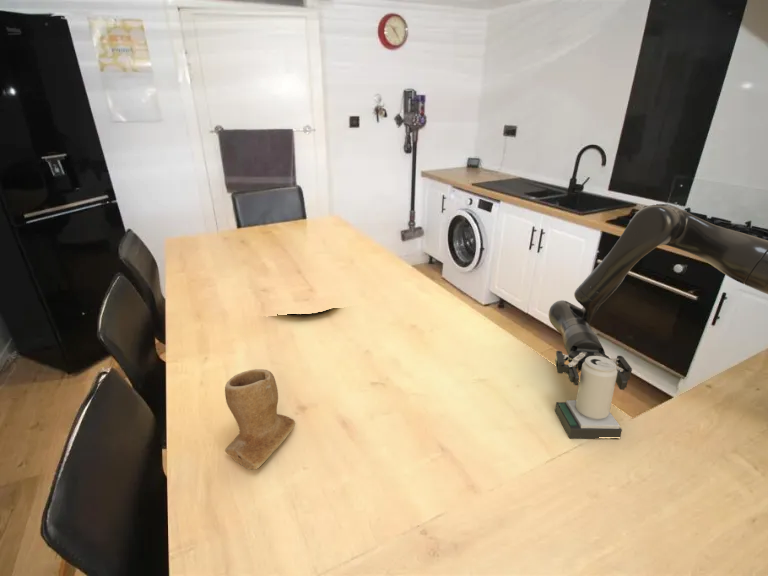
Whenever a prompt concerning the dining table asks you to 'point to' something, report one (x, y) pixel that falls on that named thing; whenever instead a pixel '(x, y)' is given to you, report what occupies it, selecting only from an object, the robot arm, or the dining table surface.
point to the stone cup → (255, 417)
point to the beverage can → (596, 387)
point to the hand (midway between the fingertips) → (599, 383)
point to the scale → (585, 423)
